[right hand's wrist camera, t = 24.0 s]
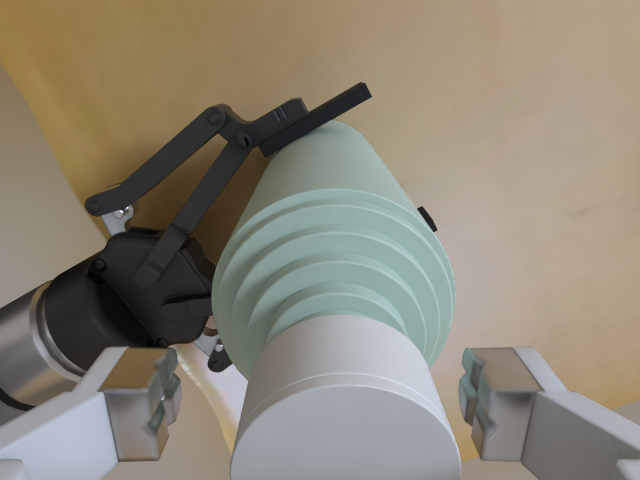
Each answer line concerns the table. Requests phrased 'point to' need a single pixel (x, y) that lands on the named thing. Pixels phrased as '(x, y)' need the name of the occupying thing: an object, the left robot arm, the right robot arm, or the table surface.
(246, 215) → the bottle
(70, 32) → the table surface
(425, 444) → the cap
